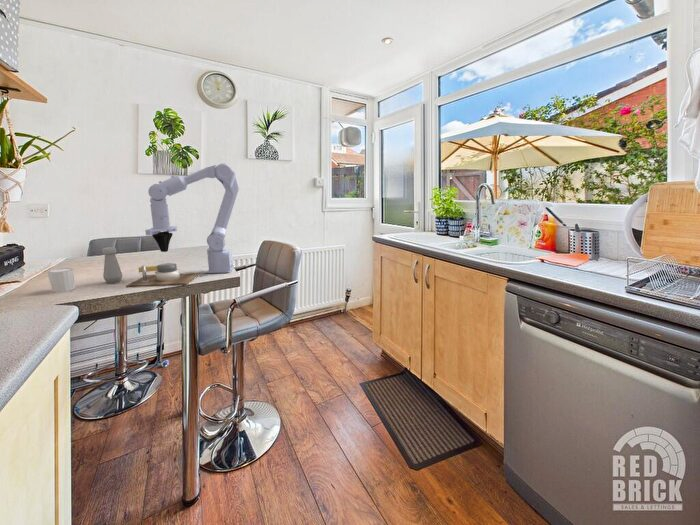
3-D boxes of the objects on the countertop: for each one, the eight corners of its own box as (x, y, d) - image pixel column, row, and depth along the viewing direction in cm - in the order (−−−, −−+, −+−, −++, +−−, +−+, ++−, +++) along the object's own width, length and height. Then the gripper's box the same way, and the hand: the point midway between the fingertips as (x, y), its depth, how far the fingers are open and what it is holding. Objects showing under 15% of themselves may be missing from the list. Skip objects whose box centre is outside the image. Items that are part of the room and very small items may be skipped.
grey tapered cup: (61, 287, 116) (57, 268, 115) (82, 287, 117) (78, 267, 115) (45, 293, 110) (41, 272, 108) (67, 292, 110) (63, 272, 109)
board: (199, 274, 135) (199, 273, 135) (186, 284, 120) (186, 283, 120) (146, 276, 132) (146, 274, 132) (126, 287, 117) (126, 285, 117)
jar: (183, 275, 130) (182, 267, 130) (175, 280, 123) (174, 272, 122) (161, 276, 129) (160, 268, 129) (152, 281, 122) (151, 273, 121)
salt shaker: (113, 284, 120) (108, 249, 118) (100, 283, 121) (94, 248, 119) (127, 280, 126) (122, 246, 123) (114, 279, 127) (109, 246, 124)
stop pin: (151, 282, 123) (149, 265, 122) (148, 284, 120) (145, 266, 119) (143, 282, 123) (140, 265, 121) (139, 284, 120) (137, 267, 119)
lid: (176, 267, 130) (176, 262, 129) (176, 271, 124) (176, 265, 124) (140, 270, 124) (139, 265, 124) (138, 274, 119) (137, 268, 118)
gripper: (164, 215, 135) (168, 248, 138) (136, 217, 121) (141, 254, 124) (180, 215, 134) (183, 248, 137) (153, 217, 120) (157, 255, 123)
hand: (164, 251), depth 131 cm, fingers closed
